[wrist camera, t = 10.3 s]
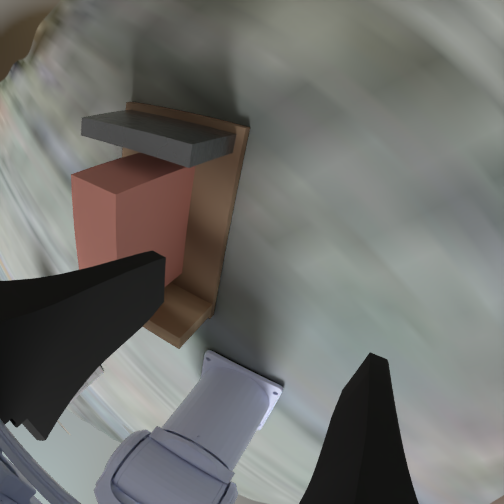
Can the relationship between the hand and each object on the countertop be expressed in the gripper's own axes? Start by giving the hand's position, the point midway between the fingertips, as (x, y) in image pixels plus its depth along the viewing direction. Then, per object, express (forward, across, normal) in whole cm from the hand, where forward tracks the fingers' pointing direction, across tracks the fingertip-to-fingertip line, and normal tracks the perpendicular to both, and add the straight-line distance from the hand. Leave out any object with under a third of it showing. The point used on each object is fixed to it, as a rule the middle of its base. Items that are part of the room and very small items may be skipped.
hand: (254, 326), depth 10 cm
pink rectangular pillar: (+10, +11, +4) cm, 15 cm away
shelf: (+10, +11, +4) cm, 16 cm away
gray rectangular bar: (+10, +11, -3) cm, 15 cm away
